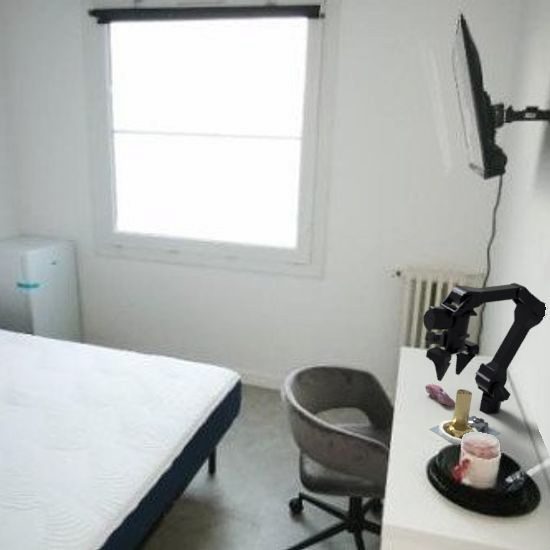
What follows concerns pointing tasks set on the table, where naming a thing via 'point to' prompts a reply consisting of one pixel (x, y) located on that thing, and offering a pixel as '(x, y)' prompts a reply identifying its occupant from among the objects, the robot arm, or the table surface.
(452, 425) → the brass gear
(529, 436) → the table surface
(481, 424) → the fixed gear
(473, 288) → the robot arm
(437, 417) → the table surface
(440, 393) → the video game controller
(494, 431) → the gear board
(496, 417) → the table surface
